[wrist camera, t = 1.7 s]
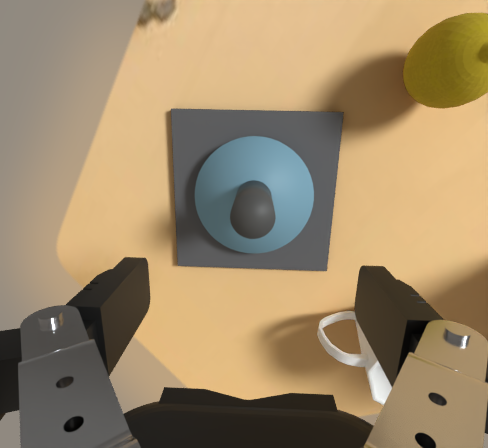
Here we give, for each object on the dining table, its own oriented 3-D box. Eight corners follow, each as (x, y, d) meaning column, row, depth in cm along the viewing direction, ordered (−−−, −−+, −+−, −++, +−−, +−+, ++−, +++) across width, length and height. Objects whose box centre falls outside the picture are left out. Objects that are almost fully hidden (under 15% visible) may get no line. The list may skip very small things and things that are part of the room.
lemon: (398, 122, 26) (457, 120, 18) (377, 55, 25) (431, 23, 17) (466, 91, 25) (557, 76, 18) (448, 20, 24) (538, -31, 16)
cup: (400, 351, 33) (445, 421, 25) (304, 338, 32) (319, 403, 25) (421, 291, 30) (476, 346, 23) (318, 276, 30) (339, 327, 23)
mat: (172, 109, 26) (171, 108, 26) (341, 112, 26) (343, 112, 25) (179, 263, 31) (177, 265, 30) (325, 268, 30) (326, 271, 30)
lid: (195, 134, 26) (173, 137, 20) (316, 137, 26) (337, 140, 19) (198, 246, 29) (180, 283, 22) (307, 250, 29) (322, 288, 22)
